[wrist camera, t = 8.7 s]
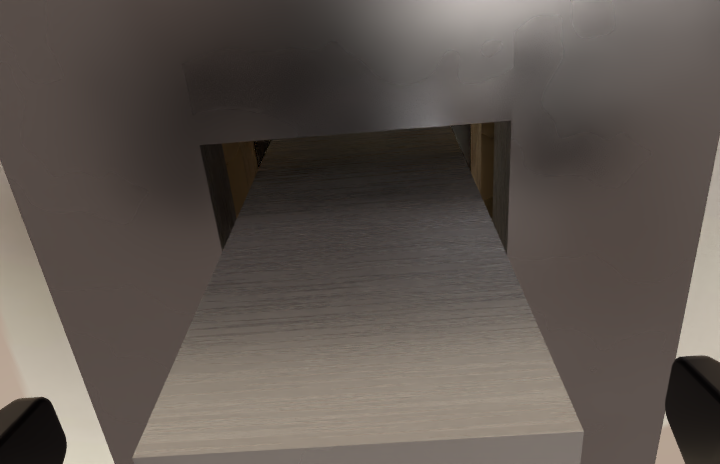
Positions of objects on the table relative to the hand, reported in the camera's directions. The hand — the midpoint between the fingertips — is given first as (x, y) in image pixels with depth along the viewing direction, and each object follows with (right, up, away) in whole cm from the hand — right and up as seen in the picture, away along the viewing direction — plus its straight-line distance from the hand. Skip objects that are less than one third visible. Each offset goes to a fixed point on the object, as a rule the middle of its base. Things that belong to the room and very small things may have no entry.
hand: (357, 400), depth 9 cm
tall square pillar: (0, +4, +7) cm, 8 cm away
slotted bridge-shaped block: (0, +4, +7) cm, 8 cm away
